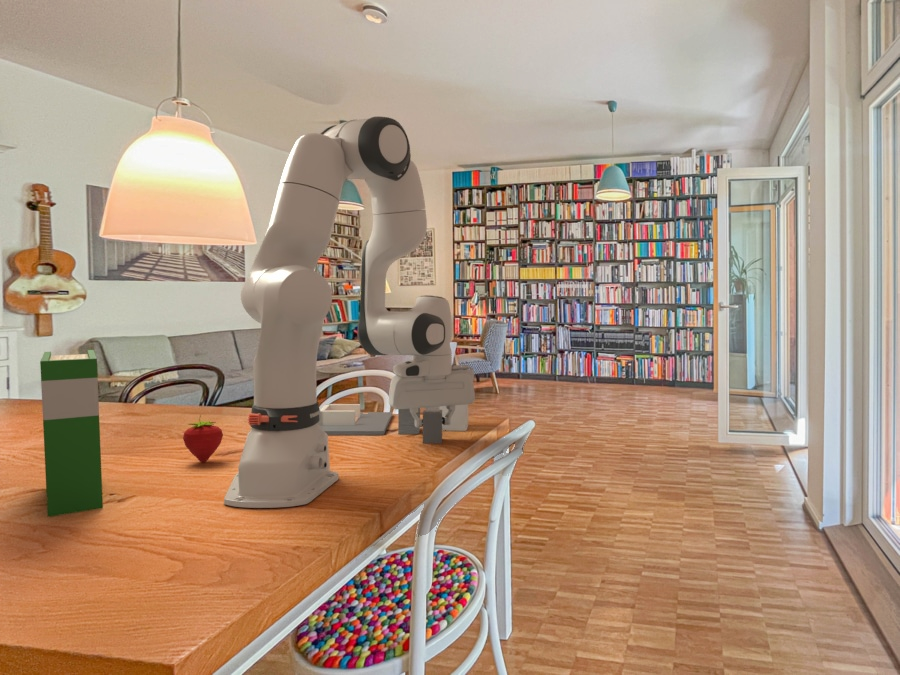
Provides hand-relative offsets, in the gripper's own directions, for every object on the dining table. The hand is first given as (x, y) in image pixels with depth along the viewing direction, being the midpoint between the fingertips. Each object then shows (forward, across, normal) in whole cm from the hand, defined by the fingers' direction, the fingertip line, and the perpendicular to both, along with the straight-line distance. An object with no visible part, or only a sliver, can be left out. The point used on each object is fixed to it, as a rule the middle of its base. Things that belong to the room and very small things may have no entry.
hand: (432, 425), depth 143 cm
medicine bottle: (+4, -10, -11) cm, 15 cm away
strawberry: (+4, +49, 0) cm, 50 cm away
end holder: (+4, +16, -26) cm, 30 cm away
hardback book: (+4, +69, +15) cm, 71 cm away
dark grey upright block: (+4, +2, -12) cm, 12 cm away
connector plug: (+4, 0, 0) cm, 4 cm away
